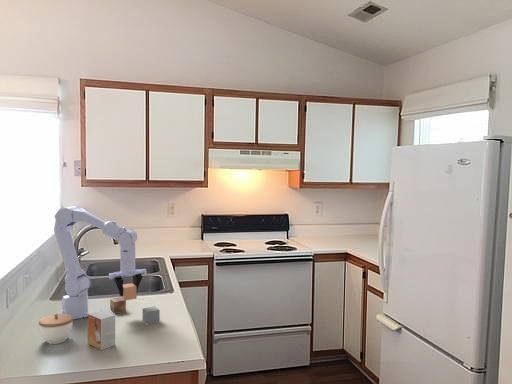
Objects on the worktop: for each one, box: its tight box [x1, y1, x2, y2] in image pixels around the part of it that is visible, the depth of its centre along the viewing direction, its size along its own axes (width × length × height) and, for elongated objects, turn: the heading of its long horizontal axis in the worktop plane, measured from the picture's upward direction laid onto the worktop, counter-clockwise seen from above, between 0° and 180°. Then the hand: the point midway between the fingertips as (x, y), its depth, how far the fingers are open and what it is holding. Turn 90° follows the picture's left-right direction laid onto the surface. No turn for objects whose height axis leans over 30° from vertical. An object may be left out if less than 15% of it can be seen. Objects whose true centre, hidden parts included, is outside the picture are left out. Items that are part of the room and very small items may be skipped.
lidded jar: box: [38, 313, 74, 345], centre depth 150 cm, size 11×11×9 cm
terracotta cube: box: [119, 282, 137, 301], centre depth 173 cm, size 5×5×5 cm
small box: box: [87, 309, 116, 351], centre depth 147 cm, size 8×6×10 cm
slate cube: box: [142, 306, 161, 325], centre depth 169 cm, size 5×5×5 cm
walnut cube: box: [109, 296, 127, 314], centre depth 181 cm, size 5×5×5 cm
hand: (128, 294), depth 173 cm, fingers closed on terracotta cube, 5 cm apart
